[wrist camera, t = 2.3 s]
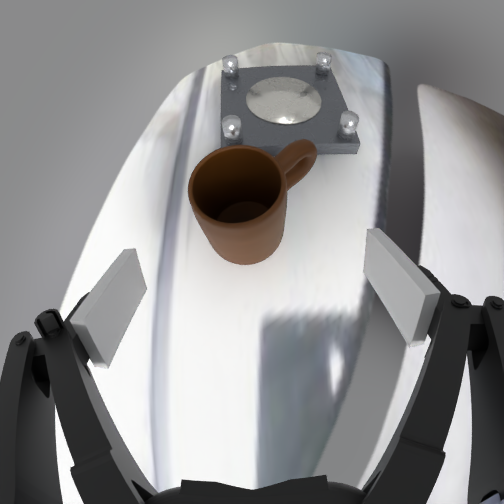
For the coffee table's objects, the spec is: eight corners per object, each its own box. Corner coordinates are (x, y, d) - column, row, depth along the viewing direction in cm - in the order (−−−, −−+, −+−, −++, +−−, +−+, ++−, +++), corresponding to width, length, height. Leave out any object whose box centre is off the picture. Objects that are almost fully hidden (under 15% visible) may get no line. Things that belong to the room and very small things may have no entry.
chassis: (328, 75, 37) (331, 50, 32) (356, 153, 32) (366, 126, 27) (223, 80, 38) (218, 54, 33) (223, 160, 33) (216, 132, 28)
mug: (284, 166, 32) (287, 106, 23) (330, 213, 30) (350, 161, 21) (195, 226, 30) (168, 177, 21) (237, 282, 28) (223, 251, 19)
